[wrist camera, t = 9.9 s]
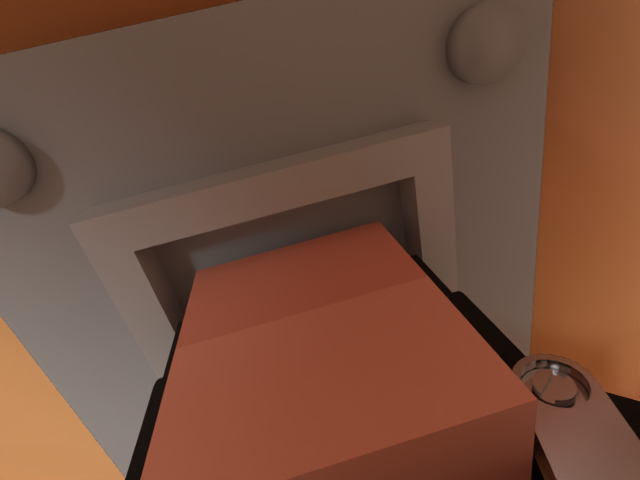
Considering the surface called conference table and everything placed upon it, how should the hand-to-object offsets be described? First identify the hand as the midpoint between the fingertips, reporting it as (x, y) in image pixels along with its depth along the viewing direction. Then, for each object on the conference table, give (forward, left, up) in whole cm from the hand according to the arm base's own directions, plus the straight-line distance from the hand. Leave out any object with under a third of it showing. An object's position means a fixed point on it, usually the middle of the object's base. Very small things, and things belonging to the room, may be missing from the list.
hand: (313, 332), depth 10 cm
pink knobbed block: (0, 0, -1) cm, 1 cm away
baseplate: (0, 0, -3) cm, 3 cm away
